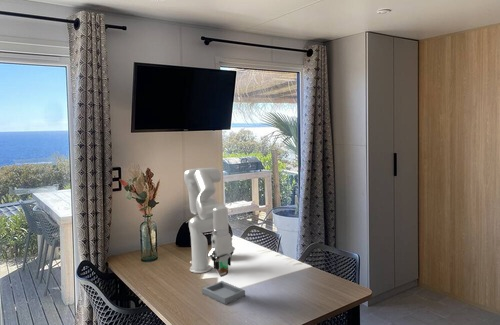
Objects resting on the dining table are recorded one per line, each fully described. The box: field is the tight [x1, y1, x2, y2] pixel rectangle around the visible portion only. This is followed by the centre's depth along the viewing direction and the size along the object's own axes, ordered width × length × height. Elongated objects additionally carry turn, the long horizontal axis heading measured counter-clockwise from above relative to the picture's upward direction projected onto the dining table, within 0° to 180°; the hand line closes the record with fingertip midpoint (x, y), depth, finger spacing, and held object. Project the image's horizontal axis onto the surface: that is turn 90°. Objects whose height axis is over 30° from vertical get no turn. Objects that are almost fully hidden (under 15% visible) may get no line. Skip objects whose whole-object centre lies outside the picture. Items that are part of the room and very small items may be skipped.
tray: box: [201, 280, 246, 306], centre depth 204 cm, size 18×13×3 cm
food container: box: [215, 254, 229, 277], centre depth 202 cm, size 12×6×10 cm, turn 18°
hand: (222, 266), depth 202 cm, fingers closed on food container, 6 cm apart
